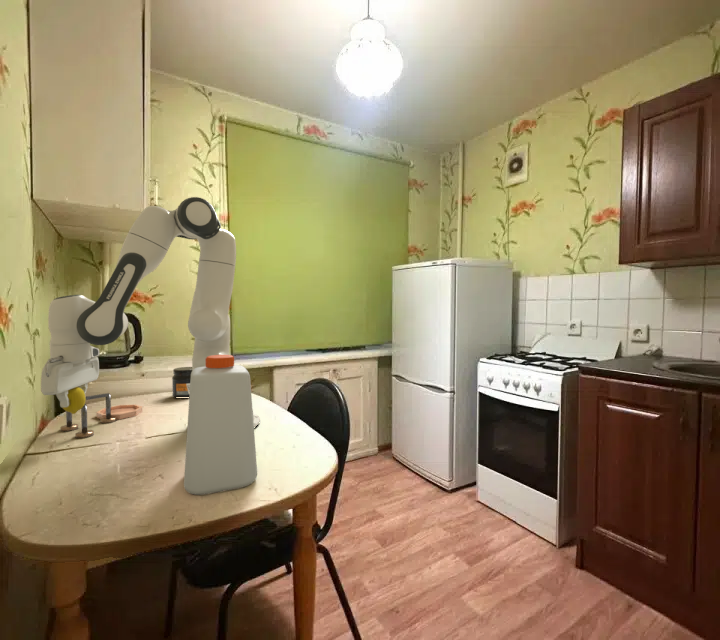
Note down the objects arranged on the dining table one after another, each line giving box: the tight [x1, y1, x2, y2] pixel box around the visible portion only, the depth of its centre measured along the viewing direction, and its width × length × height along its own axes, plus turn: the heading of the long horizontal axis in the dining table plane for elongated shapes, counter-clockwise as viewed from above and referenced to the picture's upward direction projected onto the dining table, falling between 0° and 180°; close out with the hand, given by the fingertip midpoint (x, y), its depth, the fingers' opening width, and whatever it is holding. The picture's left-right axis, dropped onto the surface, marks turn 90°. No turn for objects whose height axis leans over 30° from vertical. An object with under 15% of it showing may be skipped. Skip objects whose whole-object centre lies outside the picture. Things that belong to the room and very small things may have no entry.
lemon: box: [62, 387, 87, 415], centre depth 104 cm, size 6×6×8 cm
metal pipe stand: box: [59, 392, 117, 439], centre depth 118 cm, size 12×18×10 cm
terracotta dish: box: [95, 403, 143, 421], centre depth 133 cm, size 13×13×2 cm
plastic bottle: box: [183, 354, 258, 496], centre depth 85 cm, size 15×15×28 cm
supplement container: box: [171, 366, 192, 398], centre depth 160 cm, size 10×10×12 cm
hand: (73, 403), depth 104 cm, fingers closed on lemon, 5 cm apart
